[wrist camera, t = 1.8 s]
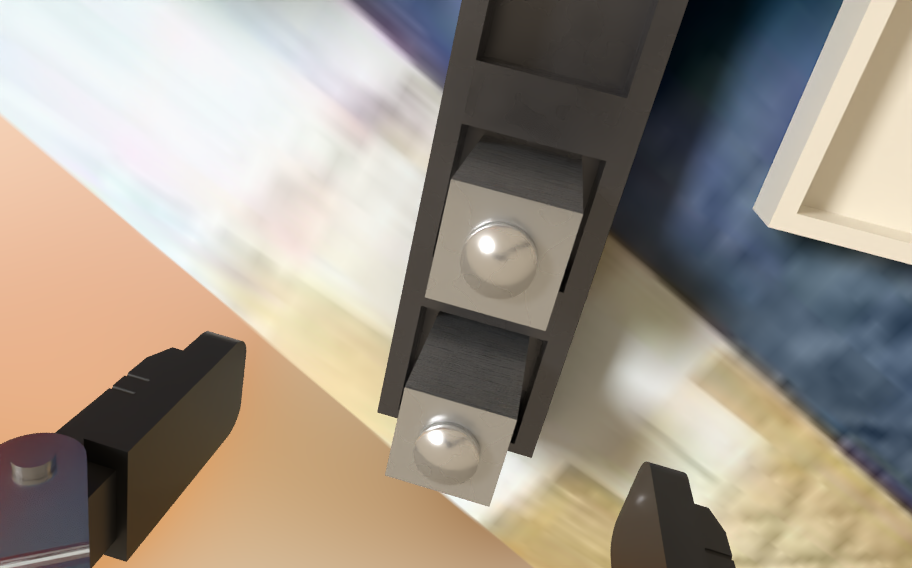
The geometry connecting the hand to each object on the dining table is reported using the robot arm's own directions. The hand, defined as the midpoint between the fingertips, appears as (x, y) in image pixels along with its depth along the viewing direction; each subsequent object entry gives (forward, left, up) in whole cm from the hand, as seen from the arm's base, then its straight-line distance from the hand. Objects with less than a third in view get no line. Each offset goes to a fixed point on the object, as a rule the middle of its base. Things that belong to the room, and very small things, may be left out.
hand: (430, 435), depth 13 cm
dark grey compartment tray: (0, 0, -19) cm, 19 cm away
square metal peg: (0, +9, -19) cm, 21 cm away
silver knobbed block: (0, 0, -19) cm, 19 cm away
